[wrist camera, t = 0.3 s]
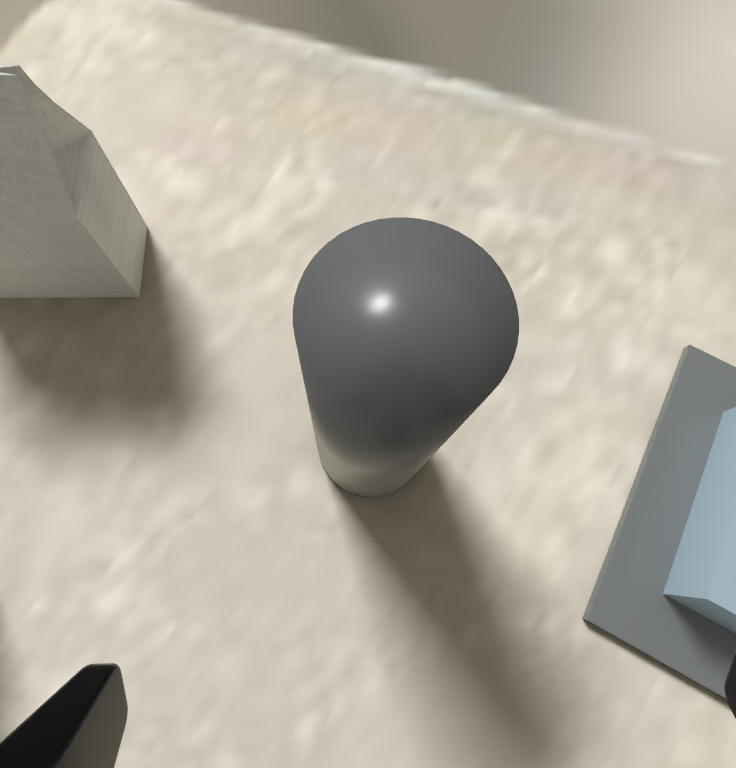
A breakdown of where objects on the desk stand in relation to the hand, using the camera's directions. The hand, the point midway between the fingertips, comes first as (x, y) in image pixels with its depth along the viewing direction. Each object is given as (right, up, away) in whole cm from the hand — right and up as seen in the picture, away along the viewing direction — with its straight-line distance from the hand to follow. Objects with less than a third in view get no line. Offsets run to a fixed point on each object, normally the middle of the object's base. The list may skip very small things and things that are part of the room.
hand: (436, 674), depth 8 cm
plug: (-1, +2, +14) cm, 15 cm away
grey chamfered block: (-15, +10, +17) cm, 24 cm away
